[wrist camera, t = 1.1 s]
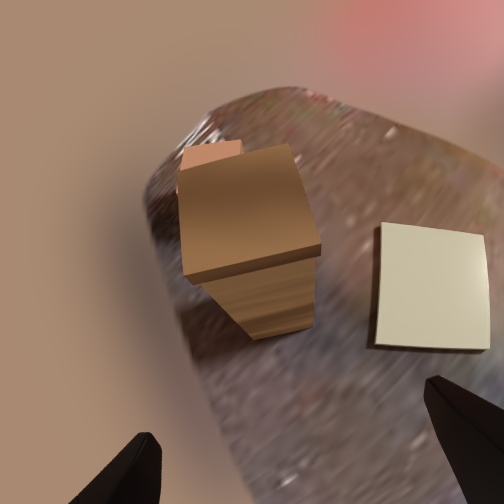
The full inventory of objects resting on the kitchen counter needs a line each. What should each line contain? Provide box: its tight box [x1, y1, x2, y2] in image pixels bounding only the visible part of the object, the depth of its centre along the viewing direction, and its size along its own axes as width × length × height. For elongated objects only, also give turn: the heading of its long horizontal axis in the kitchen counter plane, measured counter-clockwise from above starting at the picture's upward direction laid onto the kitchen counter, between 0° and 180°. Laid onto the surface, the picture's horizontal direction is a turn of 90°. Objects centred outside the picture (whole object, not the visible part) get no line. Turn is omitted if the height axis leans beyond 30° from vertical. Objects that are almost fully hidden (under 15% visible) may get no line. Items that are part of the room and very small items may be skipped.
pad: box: [374, 222, 490, 350], centre depth 22 cm, size 10×10×1 cm
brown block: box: [177, 143, 321, 340], centre depth 18 cm, size 5×5×14 cm
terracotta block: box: [176, 140, 245, 196], centre depth 27 cm, size 5×5×5 cm
